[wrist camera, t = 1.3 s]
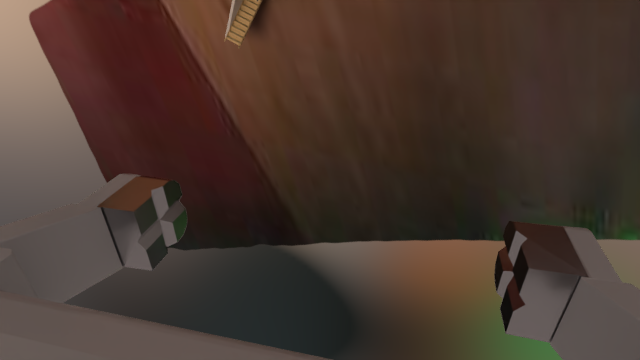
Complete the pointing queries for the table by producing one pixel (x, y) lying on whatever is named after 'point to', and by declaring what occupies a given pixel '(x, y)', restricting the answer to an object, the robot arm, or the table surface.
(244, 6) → the model
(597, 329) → the robot arm
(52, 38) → the table surface
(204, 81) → the table surface
